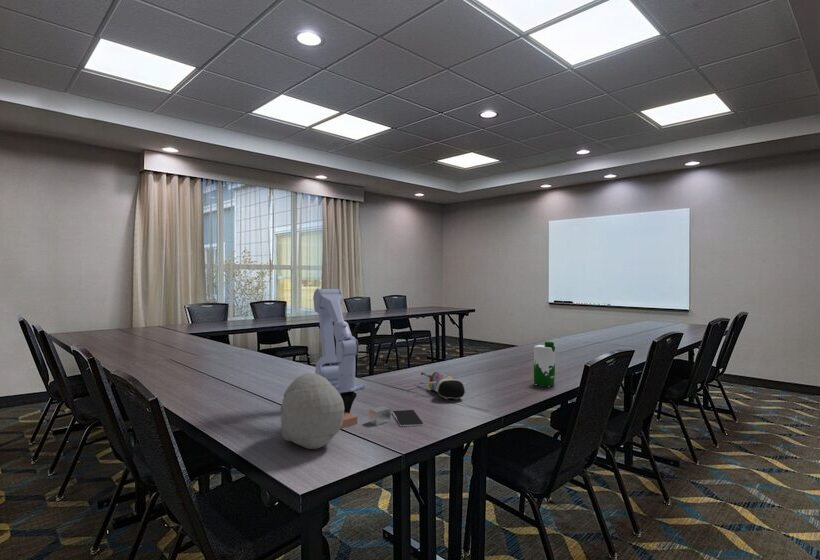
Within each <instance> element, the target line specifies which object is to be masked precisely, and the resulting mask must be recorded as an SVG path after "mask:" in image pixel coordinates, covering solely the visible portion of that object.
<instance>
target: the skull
mask: <svg viewBox="0 0 820 560" xmlns="http://www.w3.org/2000/svg"><path fill="white" fill-rule="evenodd" d="M280 414H281V416H280V430H281V435H282V438H283V439H284V440H285V441H288V442H292V443H294V444H296V445H298V446H301V447H303V448H305V449H309V450H317V449H319V448H323V447H324V446H326V445H327V444H328V443H329V442H330V441H332V439H333V438H334V437H335V435H336V434H337V433H339V432H340V430H342V429H341V426H342V423H343V418H344V403H343V399H342V397H341V395H340V394H339V393H338V391H337V390H336V388H334V387H333V386H332V384H331V383H330V382H329V381H328V380H327V379H326V378H324V377H323V376H320V375H318V374H315V372H314V373H313V372H306V373H303V374H301V375H299V376H298V377H296V378H295V379H294V380H293V381H292V382H291V383H290V384H289V386H288V387H287V388H286V390H285V391H284V393H283V398H282V404H281V405H280Z"/></svg>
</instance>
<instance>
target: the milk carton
mask: <svg viewBox="0 0 820 560" xmlns="http://www.w3.org/2000/svg"><path fill="white" fill-rule="evenodd" d="M556 348H557V346H556V345H555V343H554V342H553V341H545V342H544V344H537V345H535V346H533V384H537V385H543V386H542V387H544V386H551V385H552V386H554V385H555V378H556V377H555V376H556V375H555V374H556V350H557V349H556ZM553 384H554V385H553ZM537 385H536V386H537ZM552 386H551V387H552Z"/></svg>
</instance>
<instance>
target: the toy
mask: <svg viewBox="0 0 820 560" xmlns="http://www.w3.org/2000/svg"><path fill="white" fill-rule="evenodd" d="M420 375H421V376H422V375H423V376H426V377H427V378H429V381H426V382H421V381H420V382H419V384H421V385H423V384H424V385H427V384H428V385H429V389H430V390H431V391H434V392H436V393H438V395H439V396H440V397H441V398H443V399H444V400H449V399H453V400H459V399H461V398H462V397H464V395H465V392H466V391H465V386H464V385H466V383H465V382H463V383H462V382H461V381H460V380H458V379H454V378H453V377H452V376H451V375H449V374H444V373H441V372H439V371H435V372H433V373H432V375H431V374H426V373H425V372H421V373H420ZM470 384H471V382H469V383H468V385H470Z"/></svg>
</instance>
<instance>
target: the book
mask: <svg viewBox="0 0 820 560" xmlns="http://www.w3.org/2000/svg"><path fill="white" fill-rule="evenodd" d="M355 424H356V425H358V416H357V415H354V414H352V413H350V414H349V413H346V412H344V418H343V423H342V426H341V428H342V429H345V428H344V427H346V428H349V427H352V426H351V425H353V426H355ZM348 426H349V427H348Z"/></svg>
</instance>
